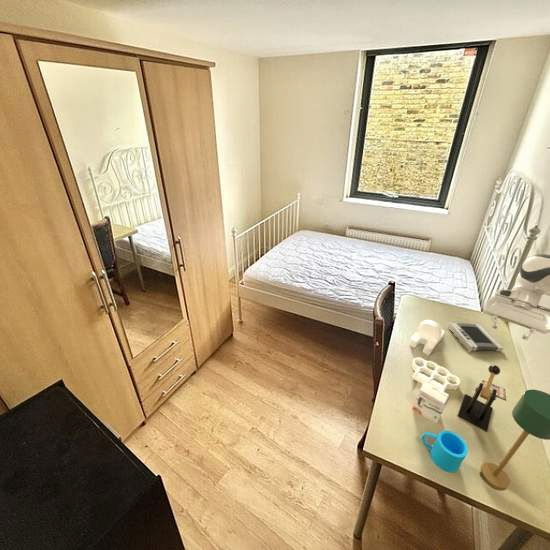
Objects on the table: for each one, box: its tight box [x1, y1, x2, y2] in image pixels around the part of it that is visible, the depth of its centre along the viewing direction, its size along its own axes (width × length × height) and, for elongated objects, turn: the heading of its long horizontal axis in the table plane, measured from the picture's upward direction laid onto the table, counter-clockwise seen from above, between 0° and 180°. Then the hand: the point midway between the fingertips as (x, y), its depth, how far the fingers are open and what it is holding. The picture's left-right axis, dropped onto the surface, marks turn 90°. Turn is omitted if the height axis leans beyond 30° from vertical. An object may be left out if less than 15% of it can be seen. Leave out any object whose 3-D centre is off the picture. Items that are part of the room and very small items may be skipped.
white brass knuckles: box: [411, 357, 461, 392], centre depth 119 cm, size 3×18×15 cm
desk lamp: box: [479, 389, 550, 492], centre depth 79 cm, size 9×9×34 cm
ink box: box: [412, 382, 451, 424], centre depth 102 cm, size 9×5×12 cm, turn 47°
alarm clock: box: [447, 321, 504, 353], centre depth 140 cm, size 17×5×16 cm
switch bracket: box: [457, 382, 498, 433], centre depth 103 cm, size 12×9×13 cm
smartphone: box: [481, 379, 507, 401], centre depth 117 cm, size 8×15×1 cm, turn 145°
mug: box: [420, 430, 469, 473], centre depth 91 cm, size 12×8×8 cm
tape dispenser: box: [408, 319, 445, 355], centre depth 137 cm, size 10×18×11 cm, turn 135°
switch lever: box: [479, 364, 501, 401], centre depth 102 cm, size 13×3×3 cm, turn 138°
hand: (509, 333), depth 108 cm, fingers open, 8 cm apart
